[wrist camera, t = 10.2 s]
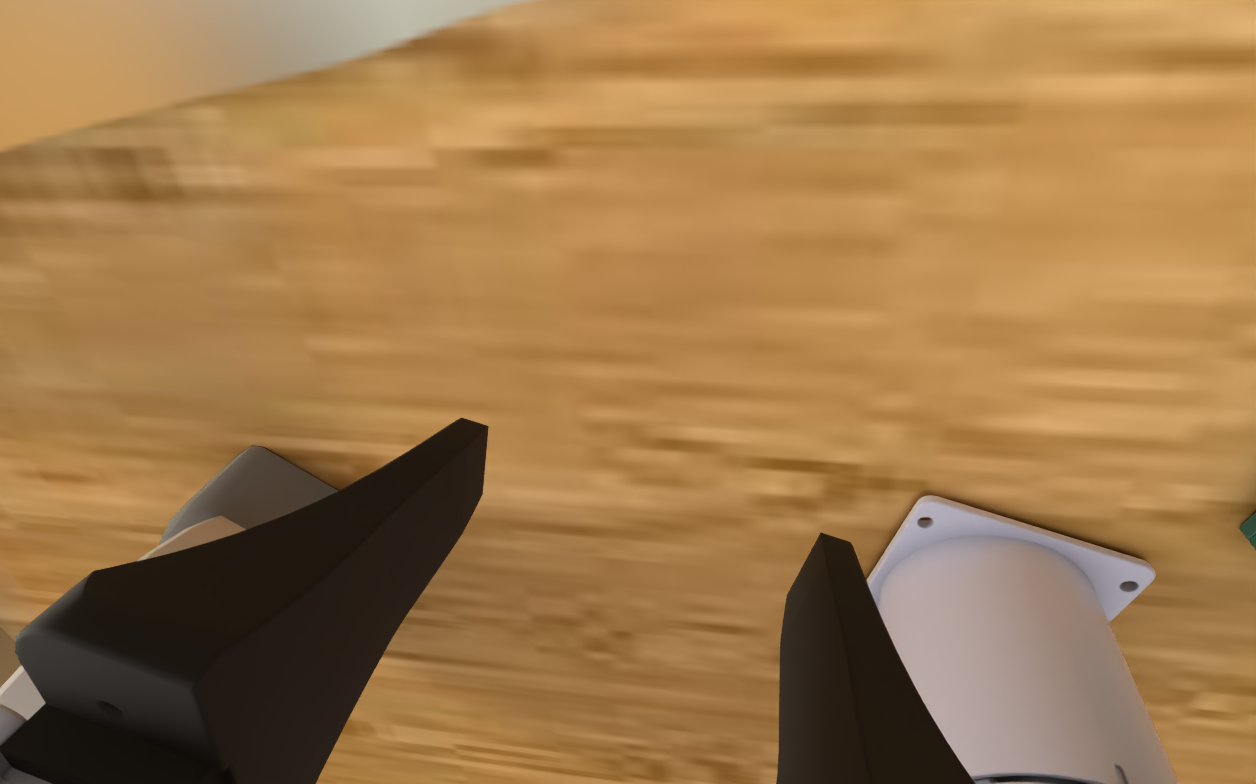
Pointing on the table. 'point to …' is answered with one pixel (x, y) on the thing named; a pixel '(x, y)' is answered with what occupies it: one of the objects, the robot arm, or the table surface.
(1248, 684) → the table surface
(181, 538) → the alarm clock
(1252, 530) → the tray
